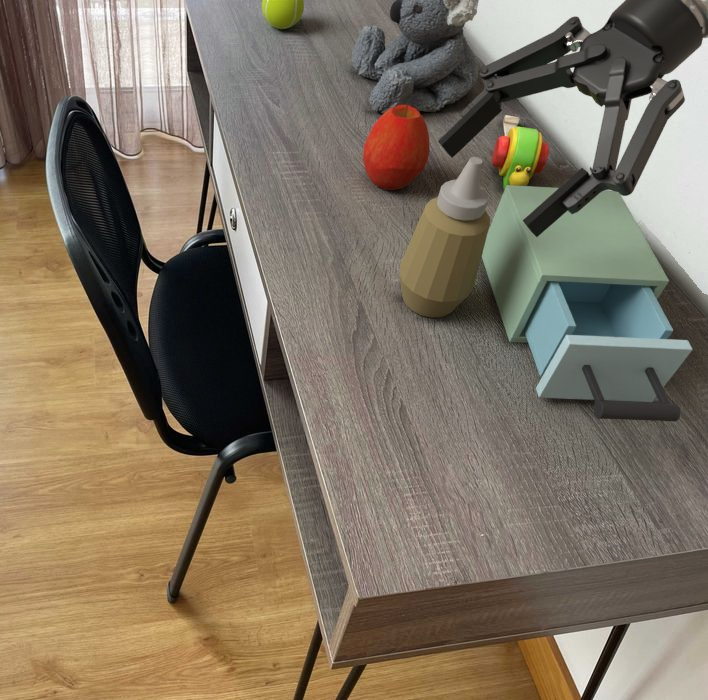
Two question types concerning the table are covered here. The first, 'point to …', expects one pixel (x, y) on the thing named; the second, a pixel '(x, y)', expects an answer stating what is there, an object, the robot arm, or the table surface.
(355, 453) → the table surface
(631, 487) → the table surface
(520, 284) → the cabinet
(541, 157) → the toy measuring tape
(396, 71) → the koala plush
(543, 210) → the robot arm
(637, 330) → the drawer
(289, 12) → the tennis ball
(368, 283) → the table surface
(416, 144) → the red egg-shaped piece
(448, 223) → the squeeze bottle
